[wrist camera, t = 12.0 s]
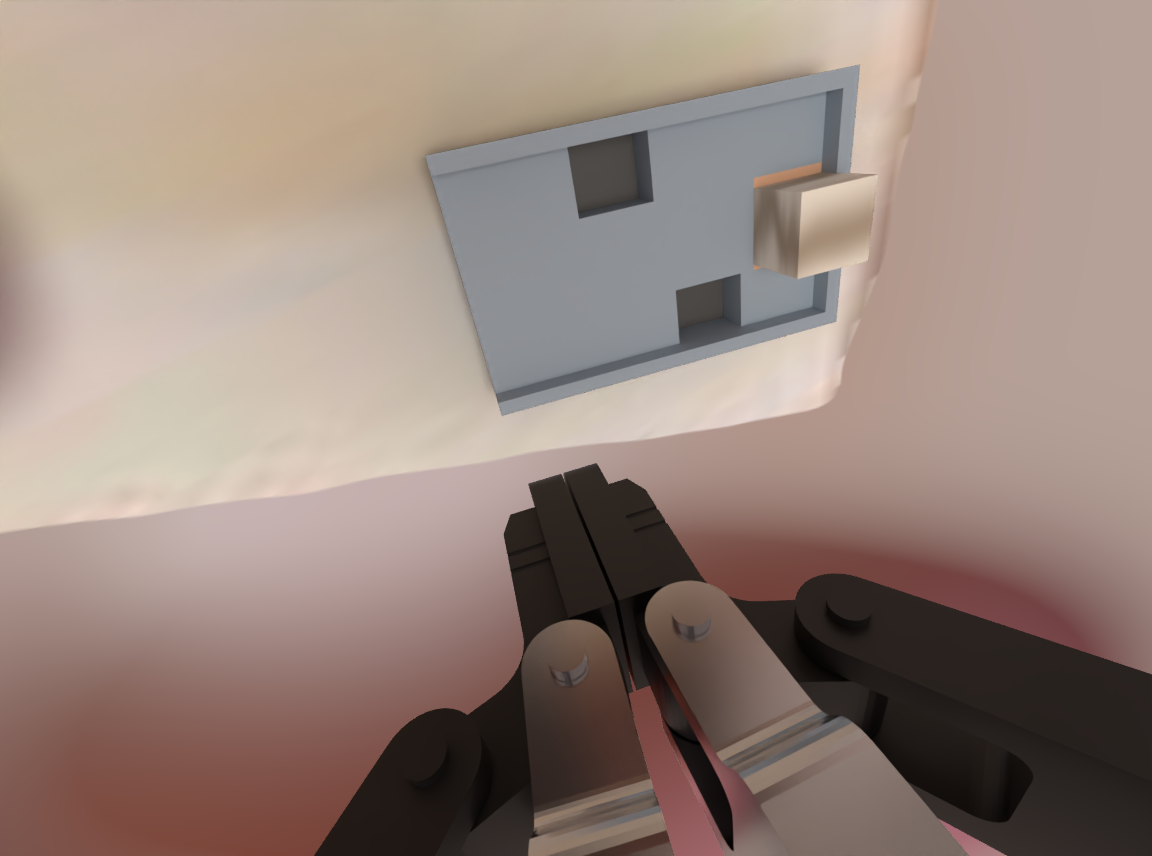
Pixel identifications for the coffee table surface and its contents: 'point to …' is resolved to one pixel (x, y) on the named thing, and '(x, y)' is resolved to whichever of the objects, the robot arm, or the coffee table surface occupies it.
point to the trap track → (638, 235)
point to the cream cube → (813, 223)
